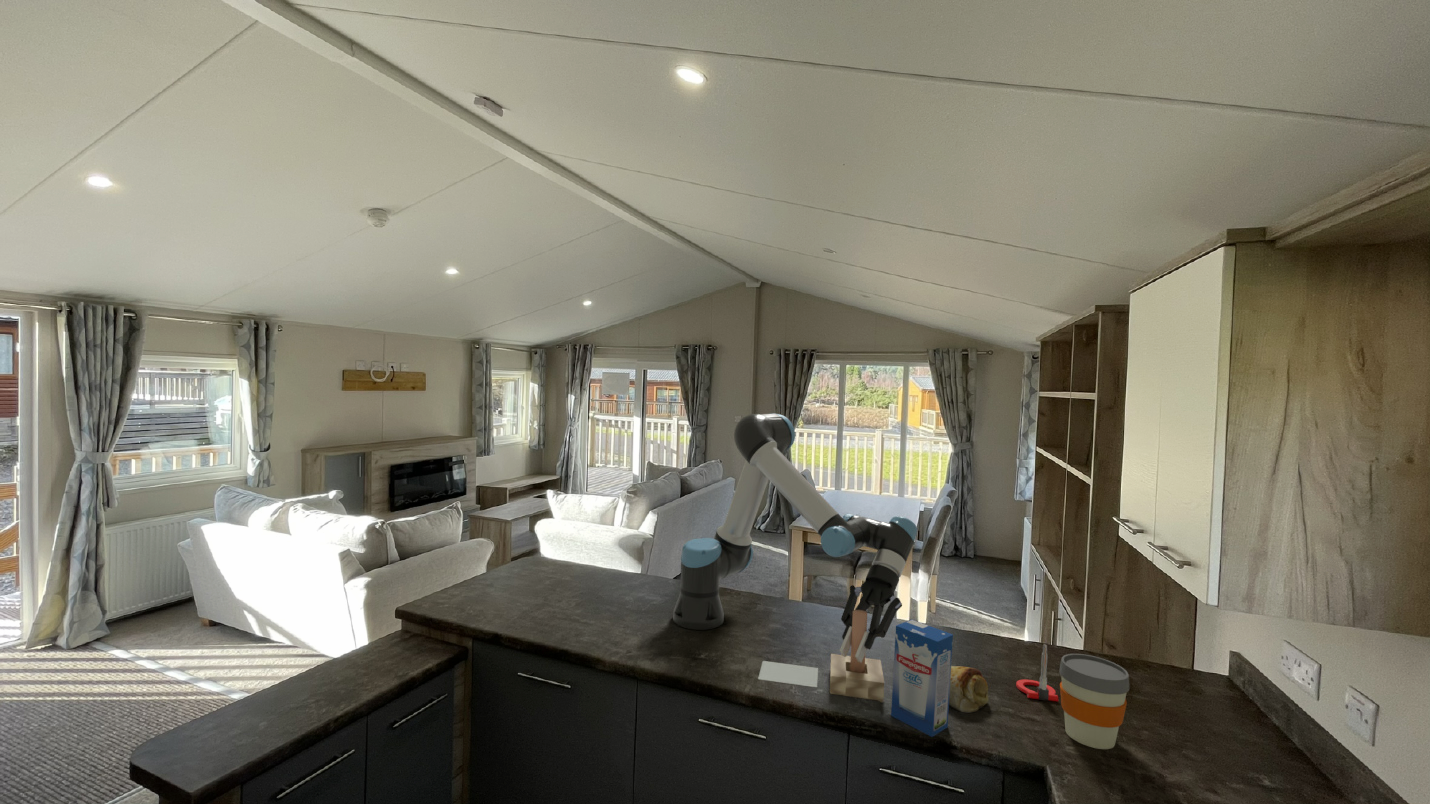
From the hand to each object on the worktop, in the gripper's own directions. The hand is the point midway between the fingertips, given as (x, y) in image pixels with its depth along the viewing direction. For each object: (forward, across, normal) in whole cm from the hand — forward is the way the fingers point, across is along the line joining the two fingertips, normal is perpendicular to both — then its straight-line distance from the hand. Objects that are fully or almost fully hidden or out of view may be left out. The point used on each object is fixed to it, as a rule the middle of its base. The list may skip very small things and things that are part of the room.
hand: (850, 656), depth 142 cm
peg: (0, 0, -6) cm, 6 cm away
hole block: (+3, 0, -9) cm, 9 cm away
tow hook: (-18, -32, -30) cm, 47 cm away
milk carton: (+6, -17, -6) cm, 19 cm away
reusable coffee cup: (-8, -45, -21) cm, 51 cm away
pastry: (-6, -19, -19) cm, 28 cm away
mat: (+8, +15, -4) cm, 17 cm away
